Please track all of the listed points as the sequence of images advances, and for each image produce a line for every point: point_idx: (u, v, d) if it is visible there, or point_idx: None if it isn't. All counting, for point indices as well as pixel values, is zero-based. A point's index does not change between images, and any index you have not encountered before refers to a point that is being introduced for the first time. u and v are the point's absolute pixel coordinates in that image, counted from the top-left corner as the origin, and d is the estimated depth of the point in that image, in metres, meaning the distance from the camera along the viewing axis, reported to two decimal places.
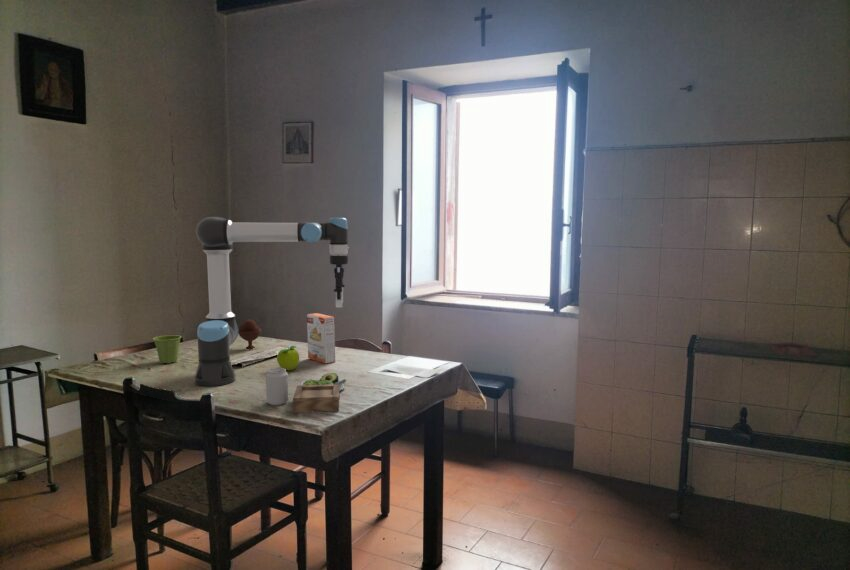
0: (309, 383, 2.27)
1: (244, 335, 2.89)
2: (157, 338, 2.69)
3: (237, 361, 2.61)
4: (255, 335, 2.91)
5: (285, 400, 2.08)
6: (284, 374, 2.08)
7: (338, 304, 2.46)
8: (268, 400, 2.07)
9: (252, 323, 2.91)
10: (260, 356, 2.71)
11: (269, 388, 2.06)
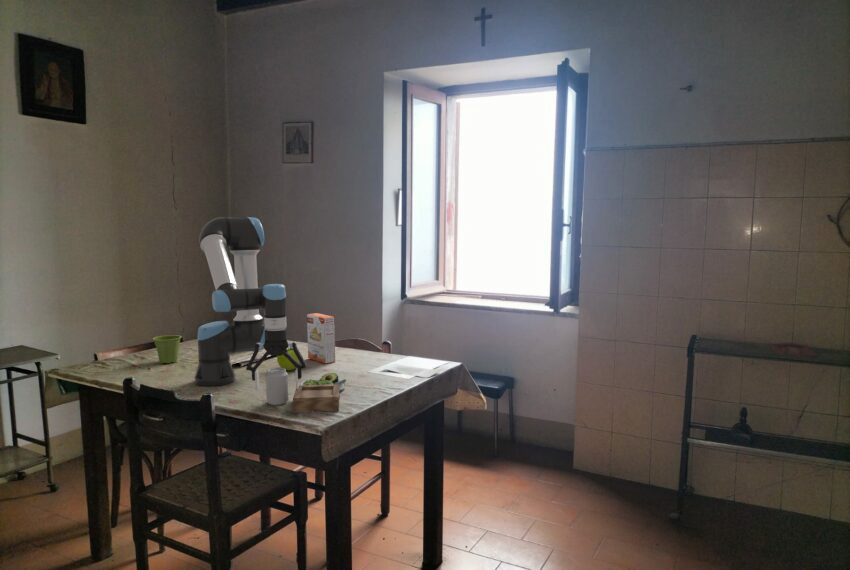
0: (309, 383, 2.27)
1: None
2: (157, 338, 2.69)
3: (236, 361, 2.61)
4: None
5: (285, 400, 2.08)
6: (284, 374, 2.08)
7: None
8: (268, 400, 2.07)
9: None
10: (259, 356, 2.72)
11: (268, 388, 2.06)
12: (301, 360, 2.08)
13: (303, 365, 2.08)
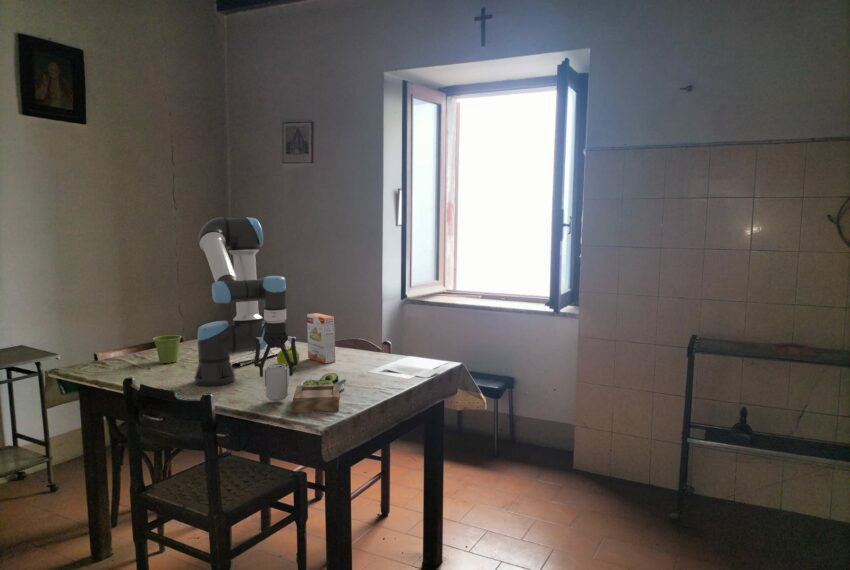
0: (309, 383, 2.27)
1: None
2: (157, 338, 2.69)
3: (235, 361, 2.62)
4: None
5: (284, 396, 2.09)
6: (284, 370, 2.08)
7: None
8: (267, 395, 2.08)
9: None
10: None
11: (268, 383, 2.07)
12: (295, 357, 2.08)
13: (295, 362, 2.08)
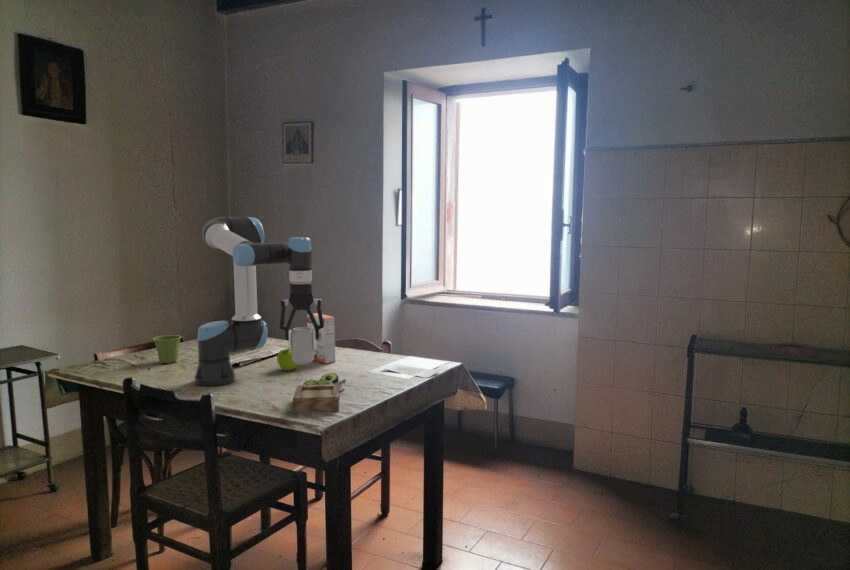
0: (309, 383, 2.27)
1: None
2: (157, 338, 2.69)
3: (234, 361, 2.62)
4: None
5: (311, 359, 2.05)
6: (310, 332, 2.04)
7: None
8: (293, 359, 2.04)
9: None
10: (257, 356, 2.72)
11: (294, 346, 2.03)
12: (321, 319, 2.04)
13: (321, 325, 2.05)
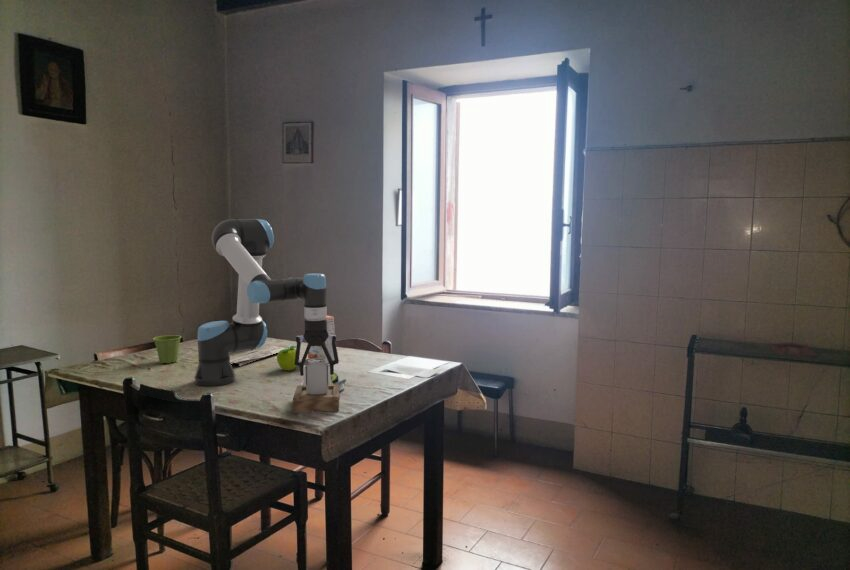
0: None
1: None
2: (157, 338, 2.69)
3: (234, 361, 2.62)
4: None
5: (325, 391, 2.06)
6: (324, 364, 2.05)
7: None
8: (308, 391, 2.05)
9: None
10: (256, 356, 2.72)
11: (309, 378, 2.04)
12: (336, 355, 2.05)
13: (336, 360, 2.06)
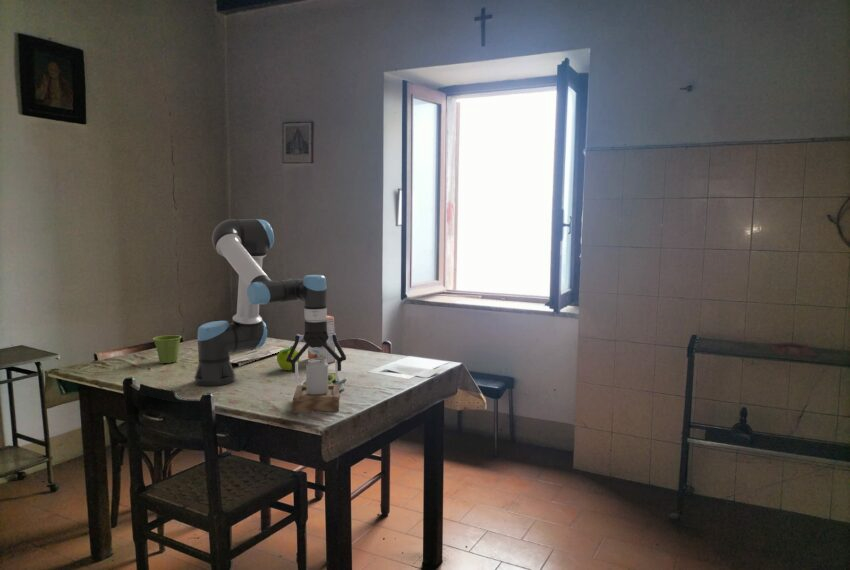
0: None
1: None
2: (157, 338, 2.69)
3: (233, 361, 2.62)
4: None
5: (325, 391, 2.06)
6: (324, 364, 2.05)
7: None
8: (308, 391, 2.05)
9: None
10: (255, 356, 2.72)
11: (309, 378, 2.04)
12: (341, 352, 2.06)
13: (343, 357, 2.06)
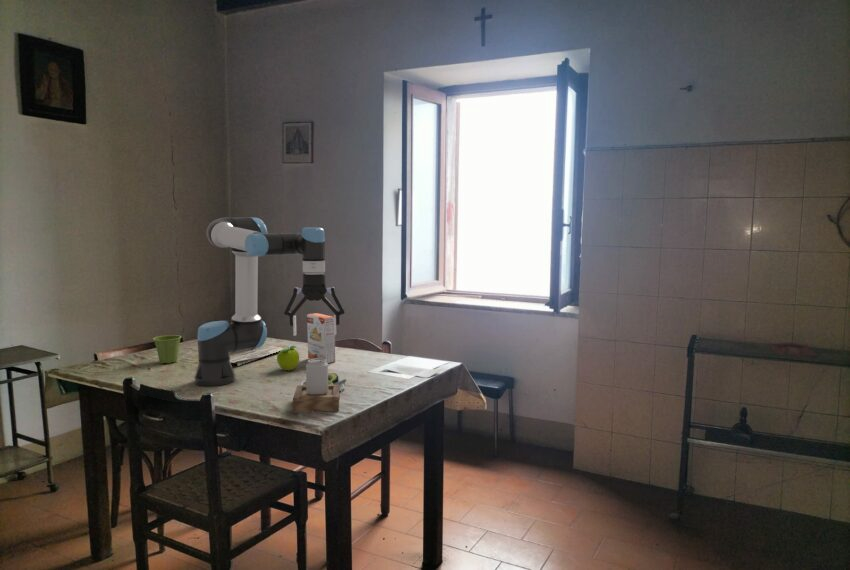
0: None
1: None
2: (157, 338, 2.69)
3: (232, 361, 2.62)
4: None
5: (325, 391, 2.06)
6: (324, 364, 2.05)
7: None
8: (308, 391, 2.05)
9: None
10: (254, 355, 2.72)
11: (309, 378, 2.04)
12: (339, 305, 2.04)
13: (341, 311, 2.05)
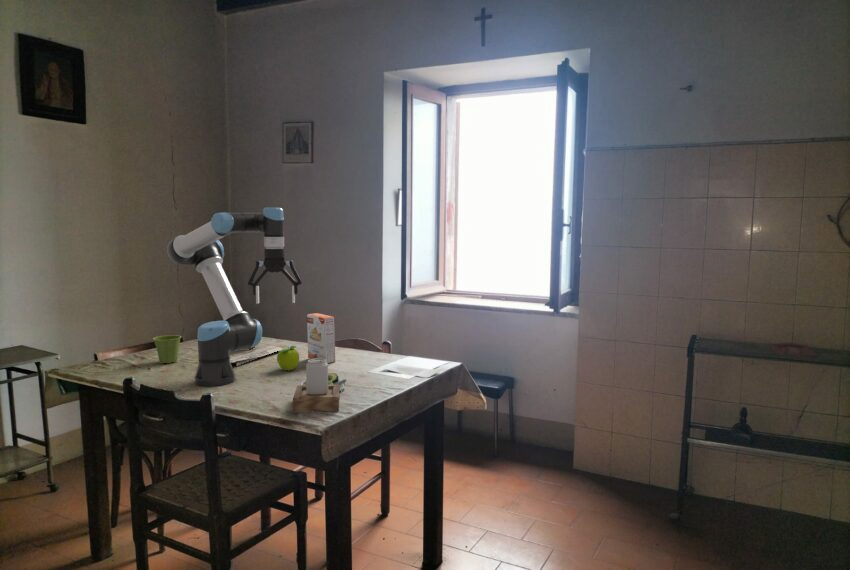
0: None
1: None
2: (157, 338, 2.69)
3: (231, 361, 2.62)
4: None
5: (325, 391, 2.06)
6: (324, 364, 2.05)
7: None
8: (308, 391, 2.05)
9: None
10: (253, 355, 2.73)
11: (309, 378, 2.04)
12: (297, 277, 2.31)
13: (299, 281, 2.31)
